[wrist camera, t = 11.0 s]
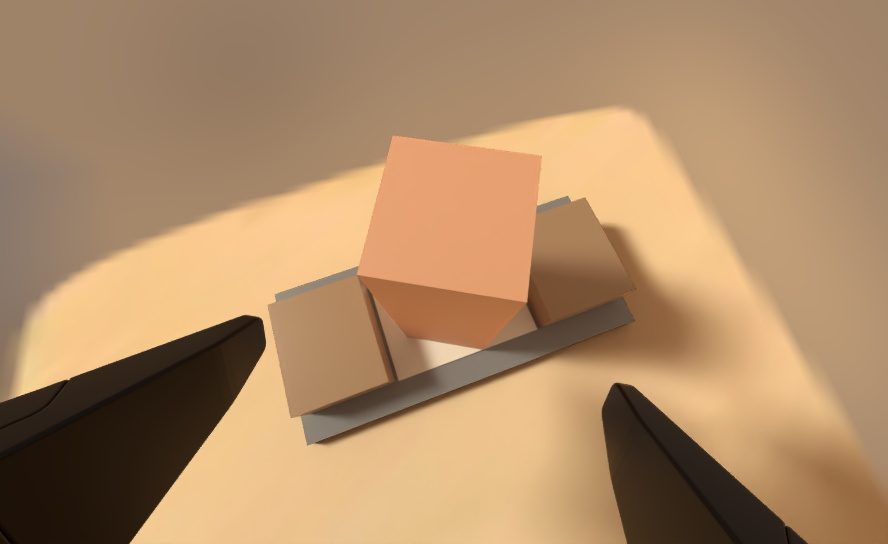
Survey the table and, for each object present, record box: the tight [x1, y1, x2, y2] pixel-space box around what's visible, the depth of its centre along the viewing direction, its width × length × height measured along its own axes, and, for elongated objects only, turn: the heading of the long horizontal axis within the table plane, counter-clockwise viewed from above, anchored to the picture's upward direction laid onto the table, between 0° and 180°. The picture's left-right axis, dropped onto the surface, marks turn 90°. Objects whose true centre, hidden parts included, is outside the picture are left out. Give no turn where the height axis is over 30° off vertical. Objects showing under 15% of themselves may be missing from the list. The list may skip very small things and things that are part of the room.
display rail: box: [268, 196, 636, 446], centre depth 20 cm, size 20×9×3 cm, turn 110°
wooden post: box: [357, 136, 542, 350], centre depth 15 cm, size 4×4×12 cm
